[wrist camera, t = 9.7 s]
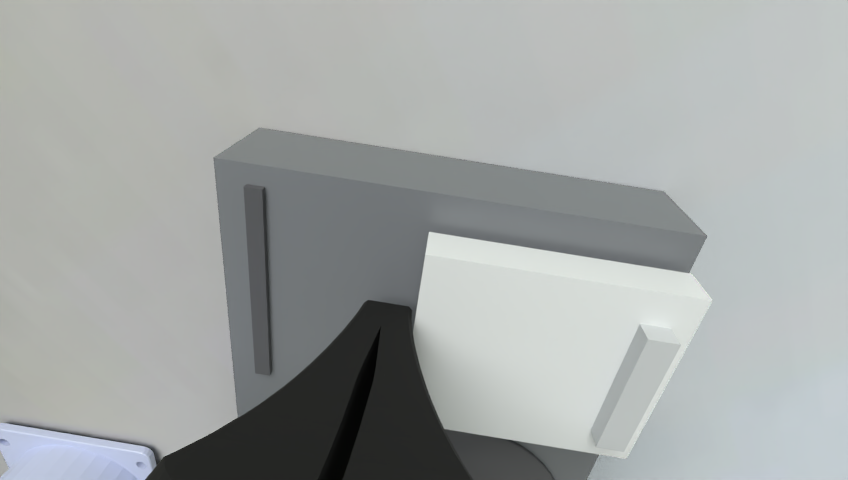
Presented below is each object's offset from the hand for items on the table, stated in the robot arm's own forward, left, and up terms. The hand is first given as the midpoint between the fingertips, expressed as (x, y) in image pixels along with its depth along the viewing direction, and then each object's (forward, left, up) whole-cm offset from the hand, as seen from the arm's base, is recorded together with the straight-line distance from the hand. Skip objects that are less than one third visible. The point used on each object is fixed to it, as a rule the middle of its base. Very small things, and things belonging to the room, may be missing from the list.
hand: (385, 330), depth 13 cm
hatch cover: (0, -4, -1) cm, 4 cm away
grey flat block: (-4, -1, -4) cm, 6 cm away
